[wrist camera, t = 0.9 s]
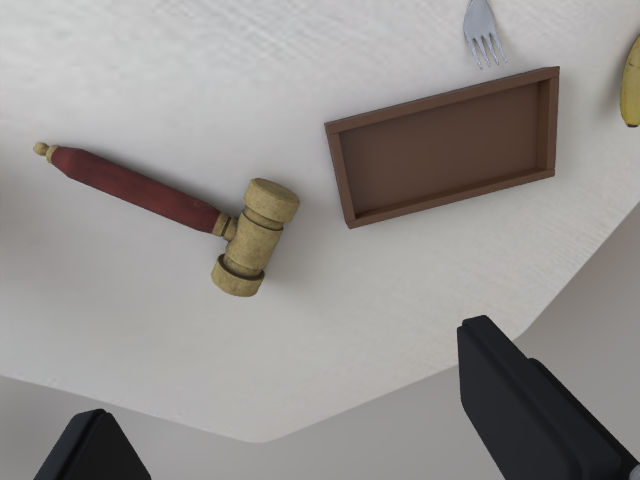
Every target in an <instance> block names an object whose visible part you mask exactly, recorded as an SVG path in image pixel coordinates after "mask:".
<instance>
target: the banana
mask: <svg viewBox="0 0 640 480" xmlns="http://www.w3.org/2000/svg"><path fill="white" fill-rule="evenodd" d="M620 110H621V115H622V118H623V120H624V121H625V123H626V125H627V126H628V127H638V125H640V36H639V37H638V39H637V40H636V42H635V43H634V45H633V47H632V49H631V51H630V53H629V56H628V58H627V62H626V65H625V68H624V73H623V78H622V85H621V93H620Z"/></svg>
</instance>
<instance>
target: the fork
mask: <svg viewBox="0 0 640 480" xmlns="http://www.w3.org/2000/svg"><path fill="white" fill-rule="evenodd" d="M464 31H465V35H466V38H467V40H468V43H469V45H470V48H471V50H472V52H473V54H474V56H475V59H476V61H477V63H478V65H479V67H480V69H481V70H483V68H482V66H481V64H480V61H479V58H478V55H477V52H476V49H475V46H474V43H473V39H476V41H477V43H478V45H479V47H480V49H481V52H482V54H483V56H484V58H485V60H486V62H487V64H488V66H489V67H491V65H490V63H489V61H488V58H487V55H486V52H485V49H484V46H483V43H482V39H481V37H482V36H483V37H484V38H485V40H486V42H487V44H488V47H489V49H490V51H491V53H492V55H493V57H494V59H495V61H496V63H497V65H499V62H498V60H497V57H496V55H495V52H494V49H493V46H492V43H491V40H490V34H492V35H493V37H494V39H495V41H496V44H497V46H498V48H499V50H500V52H501V54H502V56H503V58H504V60H505V62H507V59H506V57H505V54H504V52H503V49H502V46H501V43H500V40H499V37H498V34H497V30H496V25H495V20H494V17H493V14H492V11H491V9H490V7H489V5H488V3H487V1H486V0H472V2H471V5H470V7H469V9H468V12H467V14H466V17H465V21H464Z"/></svg>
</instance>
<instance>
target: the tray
mask: <svg viewBox="0 0 640 480" xmlns="http://www.w3.org/2000/svg"><path fill="white" fill-rule="evenodd" d="M559 70H560V66H555V67H544V68H540V69H536V70H532V71H528V72H524V73H520V74H516V75H512V76H508V77H504V78H500V79H496V80H492V81H488V82H484V83H480V84H477V85H473V86H469V87H465V88H461V89H457V90H453V91H449V92H445V93H441V94H437V95H433V96H429V97H425V98H421V99H417V100H414V101H410V102H406V103H402V104H398V105H394V106H390V107H386V108H382V109H378V110H374V111H370V112H366V113H362V114H358V115H354V116H351V117H347V118H343V119H339V120H335V121H331V122H327V123H324V124H325V129H326V134H327V138H328V143H329V148H330V152H331V157H332V162H333V166H334V171H335V176H336V180H337V185H338V190H339V194H340V199H341V204H342V208H343V213H344V218H345V222H346V224H347V226H348V228H349V229H352V228H356V227H360V226H364V225H368V224H372V223H376V222H379V221H383V220H387V219H391V218H395V217H399V216H403V215H406V214H410V213H414V212H418V211H422V210H426V209H430V208H433V207H437V206H441V205H445V204H449V203H453V202H456V201H460V200H464V199H468V198H472V197H476V196H480V195H483V194H487V193H491V192H495V191H499V190H503V189H507V188H510V187H514V186H518V185H522V184H526V183H530V182H534V181H537V180H541V179H545V178H549V177H553V176H554V175H555V158H556V137H557V115H558V93H559Z"/></svg>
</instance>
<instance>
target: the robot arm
mask: <svg viewBox="0 0 640 480" xmlns="http://www.w3.org/2000/svg"><path fill="white" fill-rule="evenodd" d="M457 342H458V359H459V376H460V394H461V402H462V405H463V408H464V410H465V412H466V414H467V416H468V417H469V419H470V421H471V422H472V424H473V426H474V428H475V429H476V431H477V432H478V434H479V436H480V438H481V439H482V441H483V443H484V444H485V446H486V448H487V449H488V451H489V453H490V454H491V456H492V458H493V460H494V461H495V463H496V464H497V466H498V468H499V470H500V471H501V473H502V475H503V476H504V478H505V480H640V463H639V462H638V461H637V460H636V459H635V458H634V457H633V456H632V455H631V454H630V453H629V451H627V449H626V448H625V447H624V446H623V445H622V444H620V443H619V441H618V440H617V439H616V438H615V437H614V436H613V435H612V434H611V433H610V432H609V431H608V430H607V429H606V428H605V427H604V426H603V425H602V424H601V423H600V422H599V421H598V420H597V419H596V418H595V417H594V416H593V415H592V414H591V413H590V412H589V411H588V410H587V409H586V408H585V407H584V406H583V405H582V404H581V403H580V402H579V401H578V400H577V399H576V398H575V397H574V396H573V395H572V394H571V392H570V391H568V389H567V388H566V387H564V385H563V384H562V383H561V382H560V381H559V380H558V379H557V378H556V377H555V376H554V375H553V374H552V373H551V372H550V371H549V370H548V369H547V368H546V367H545V366H544V365H543V364H542V363H541V362H539V361H538V360H536V359H534V358H529V359H528V358H527V357H526V356H525V355H524V354H523V353H522V352H521V351H520V350H519V349H518V348H517V347H516V346H515V345H514V344H513V343H512V342H511V341H510V339H509V338H508V337H507V336H506V335H505V334H504V333H503V332H502V331H501V330H500V329H499V328H498V327H497V326H496V325H495V324H494V323H493V321H492V320H491V319H490V318H489V317H487V316H486V315H481V316H477V317H473V318H469V319H465V320H463V322H462V326H460V327H458V328H457ZM34 480H151V477H150V474H149V473H148V471H147V470H146V468H145V466H144V465H143V463H142V462H141V460H140V458H139V457H138V455H137V453H136V452H135V450H134V449H133V447H132V445H131V444H130V442H129V441H128V439H127V437H126V436H125V434H124V433H123V431H122V429H121V428H120V426H119V425H118V423H117V422H116V420H115V418H114V417H113V415H112V414H111V413H107V412H106V411H105V410H104V409H96V410H91V411H87V412H83V413H79V414H77V415H75V416H74V417H73V418H72V419H71V420H70V422H69V424H68V425H67V427H66V428H65V430H64V432H63V433H62V435H61V437H60V438H59V440H58V441H57V443H56V444H55V446H54V447H53V449H52V451H51V452H50V454H49V455H48V457H47V459H46V460H45V462H44V463H43V465H42V467H41V468H40V470H39V471H38V473H37V475H36V476H35V478H34Z"/></svg>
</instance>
